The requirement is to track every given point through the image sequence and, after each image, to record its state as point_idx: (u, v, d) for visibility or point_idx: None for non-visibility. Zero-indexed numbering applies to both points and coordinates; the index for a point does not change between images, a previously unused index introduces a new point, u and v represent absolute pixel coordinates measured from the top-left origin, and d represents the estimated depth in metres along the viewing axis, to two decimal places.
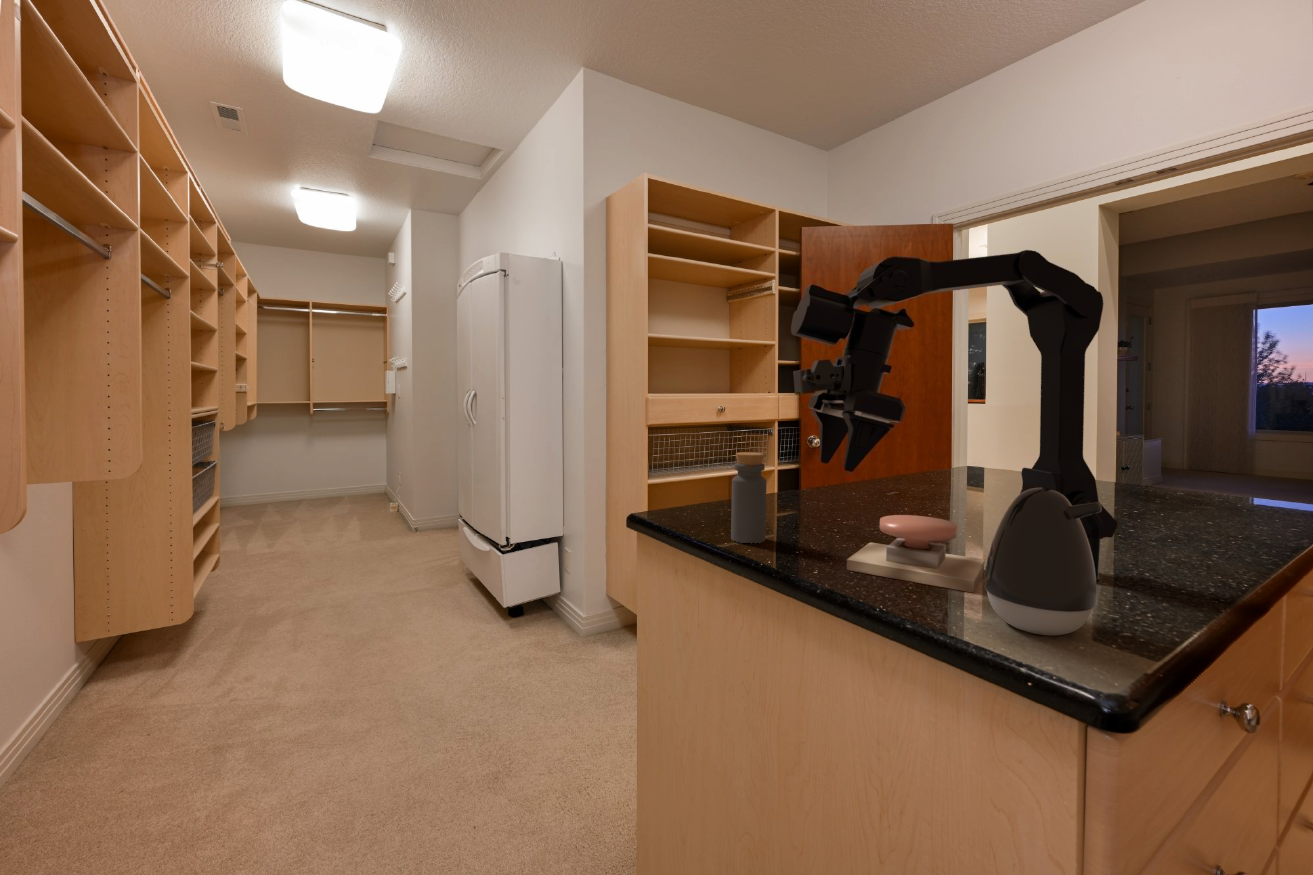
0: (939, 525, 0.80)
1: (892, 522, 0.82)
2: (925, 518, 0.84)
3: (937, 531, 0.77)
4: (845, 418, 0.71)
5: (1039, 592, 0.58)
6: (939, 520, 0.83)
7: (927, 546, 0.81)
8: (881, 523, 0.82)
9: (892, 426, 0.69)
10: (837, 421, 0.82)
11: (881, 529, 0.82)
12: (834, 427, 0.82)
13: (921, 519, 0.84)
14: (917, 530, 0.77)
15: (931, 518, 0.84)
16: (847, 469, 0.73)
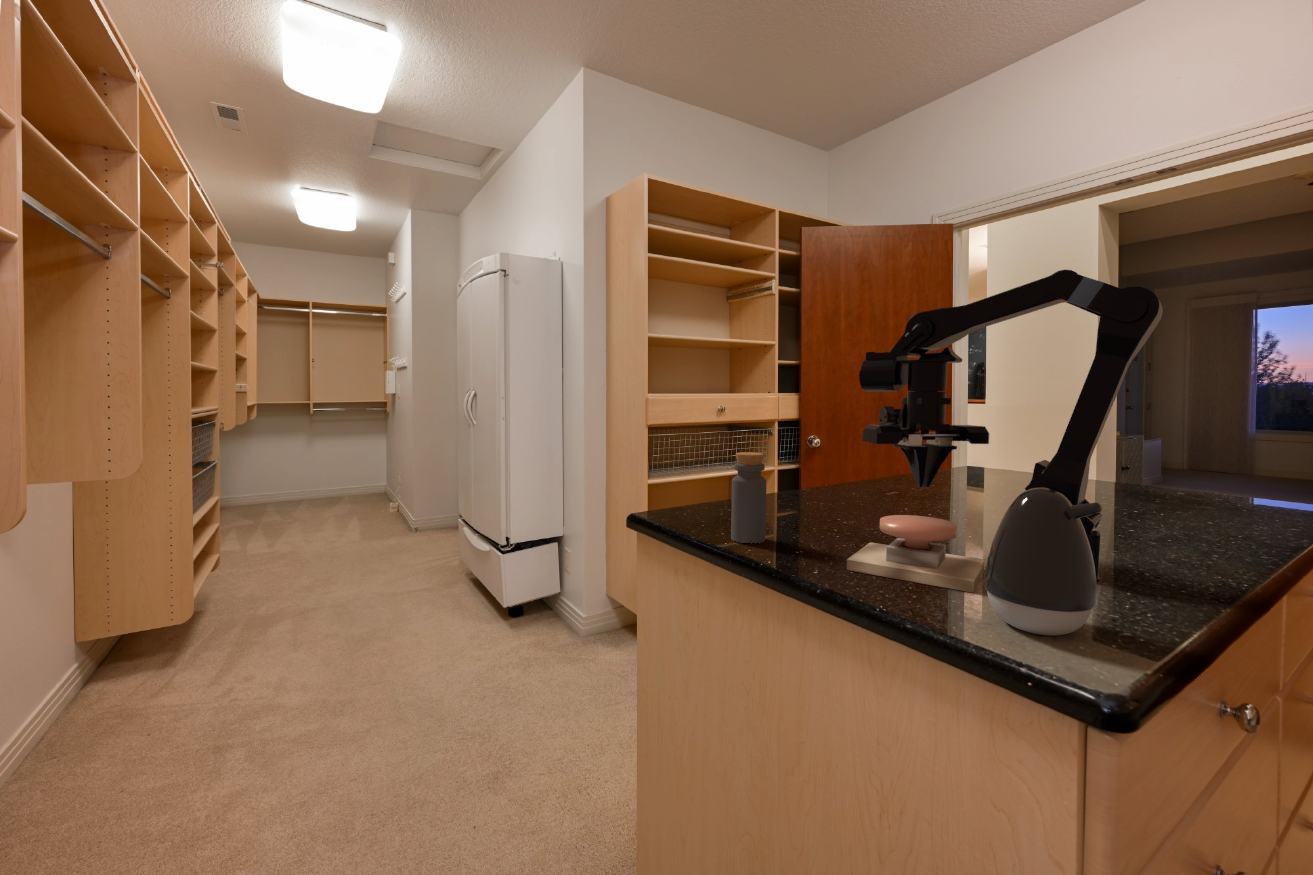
0: (939, 525, 0.80)
1: (892, 522, 0.82)
2: (925, 518, 0.84)
3: (937, 531, 0.77)
4: None
5: (1039, 592, 0.58)
6: (939, 520, 0.83)
7: (927, 546, 0.81)
8: (881, 523, 0.82)
9: (908, 447, 0.91)
10: (931, 449, 0.93)
11: (881, 529, 0.82)
12: (930, 454, 0.94)
13: (921, 519, 0.84)
14: (917, 530, 0.77)
15: (931, 518, 0.84)
16: (917, 485, 0.94)
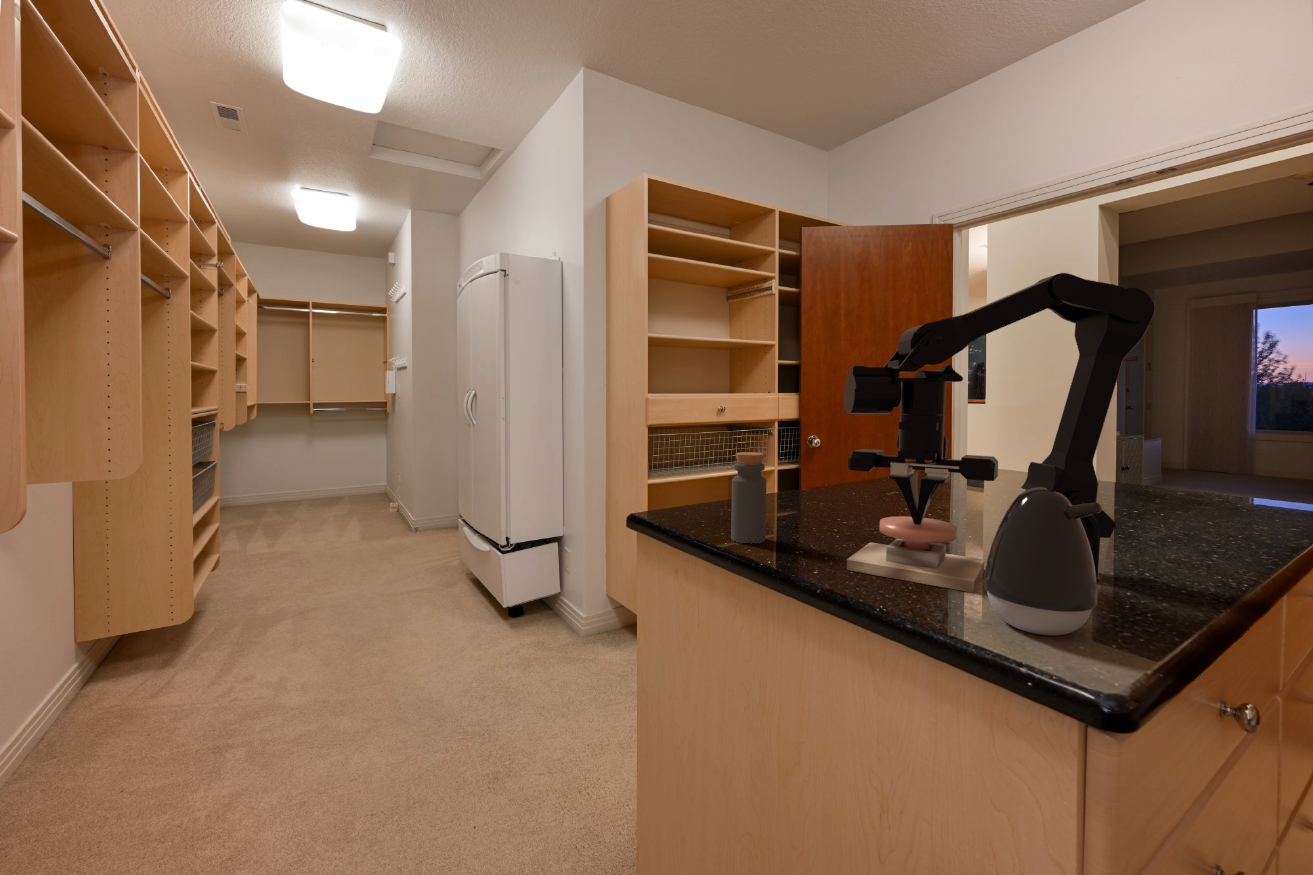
0: (939, 527, 0.80)
1: (892, 523, 0.82)
2: (925, 519, 0.84)
3: (937, 533, 0.77)
4: None
5: (1039, 592, 0.58)
6: (939, 521, 0.83)
7: (927, 548, 0.81)
8: (881, 524, 0.82)
9: None
10: None
11: (881, 530, 0.82)
12: None
13: None
14: (917, 532, 0.77)
15: (931, 519, 0.85)
16: None
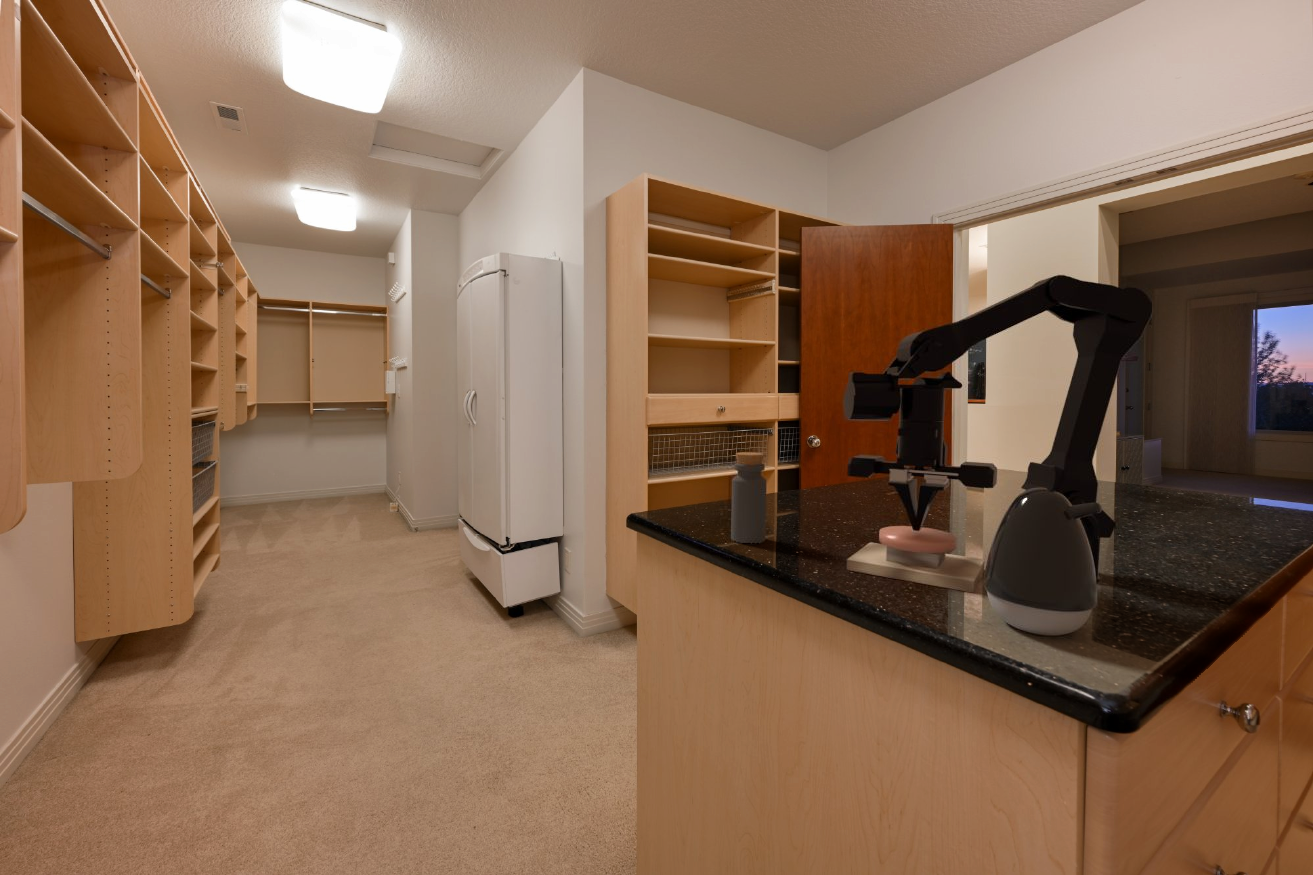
0: (938, 537, 0.80)
1: (892, 534, 0.82)
2: (925, 529, 0.85)
3: (936, 543, 0.77)
4: None
5: (1039, 592, 0.58)
6: (939, 531, 0.83)
7: None
8: (881, 535, 0.82)
9: None
10: None
11: (881, 541, 0.82)
12: None
13: (921, 530, 0.84)
14: (916, 542, 0.77)
15: (931, 529, 0.85)
16: None
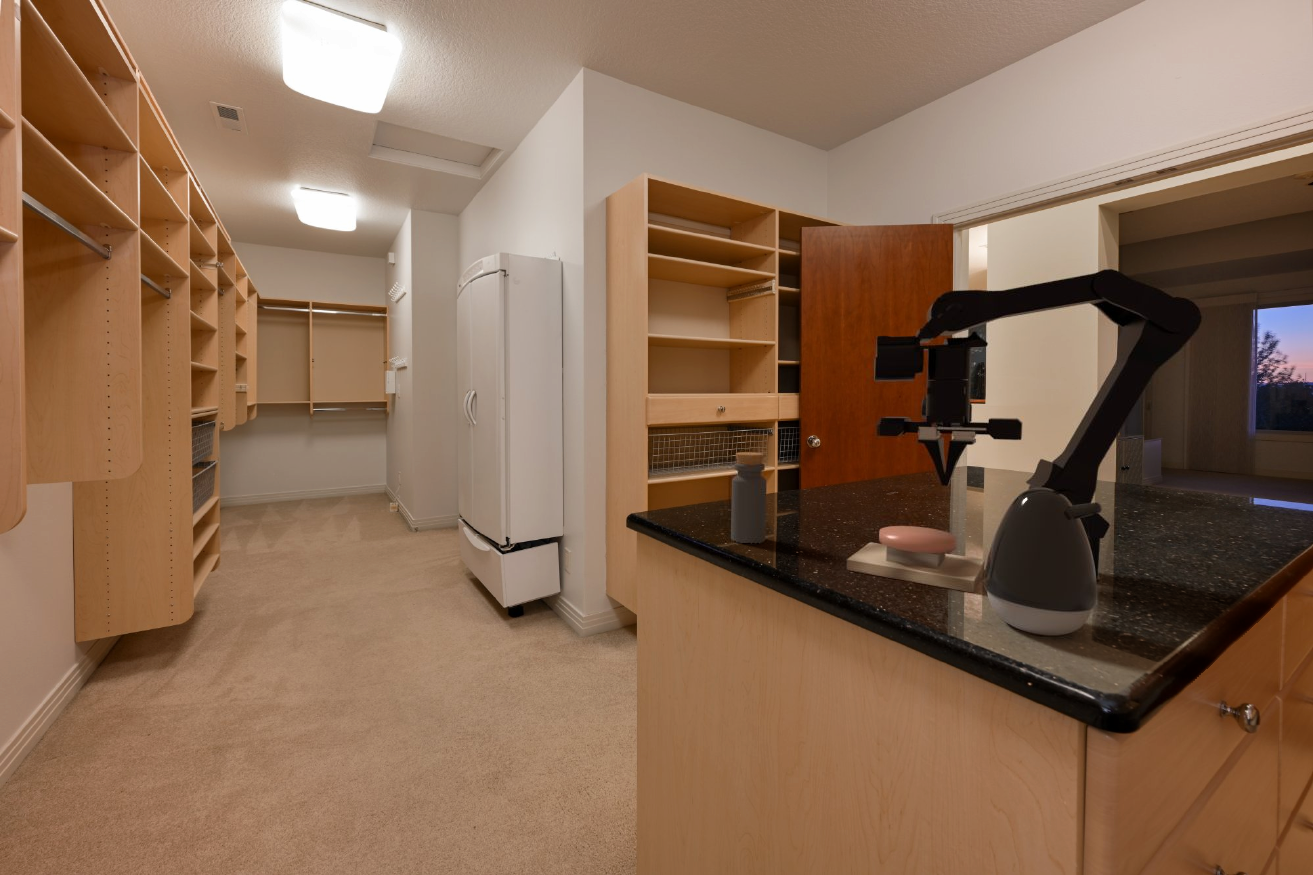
0: (938, 537, 0.80)
1: (892, 534, 0.82)
2: (925, 529, 0.85)
3: (936, 543, 0.77)
4: None
5: (1039, 592, 0.58)
6: (939, 531, 0.83)
7: None
8: (881, 535, 0.82)
9: (917, 441, 0.85)
10: None
11: (881, 541, 0.82)
12: None
13: (921, 530, 0.84)
14: (916, 542, 0.77)
15: (931, 529, 0.85)
16: None
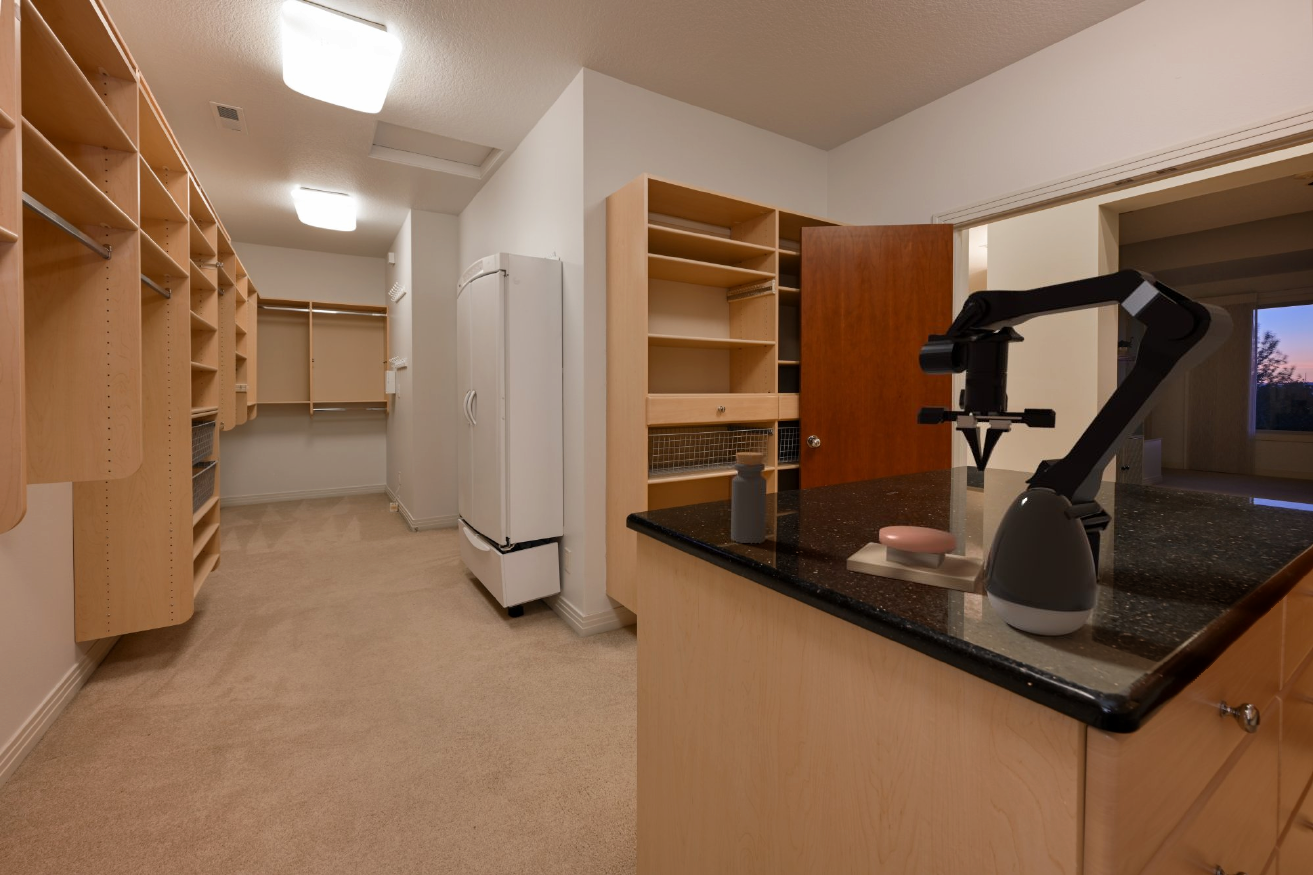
0: (938, 537, 0.80)
1: (892, 534, 0.82)
2: (925, 529, 0.85)
3: (936, 543, 0.77)
4: None
5: (1039, 593, 0.58)
6: (939, 531, 0.83)
7: None
8: (881, 535, 0.82)
9: None
10: None
11: (881, 541, 0.82)
12: None
13: (921, 530, 0.84)
14: (916, 542, 0.77)
15: (931, 529, 0.85)
16: (978, 469, 0.92)
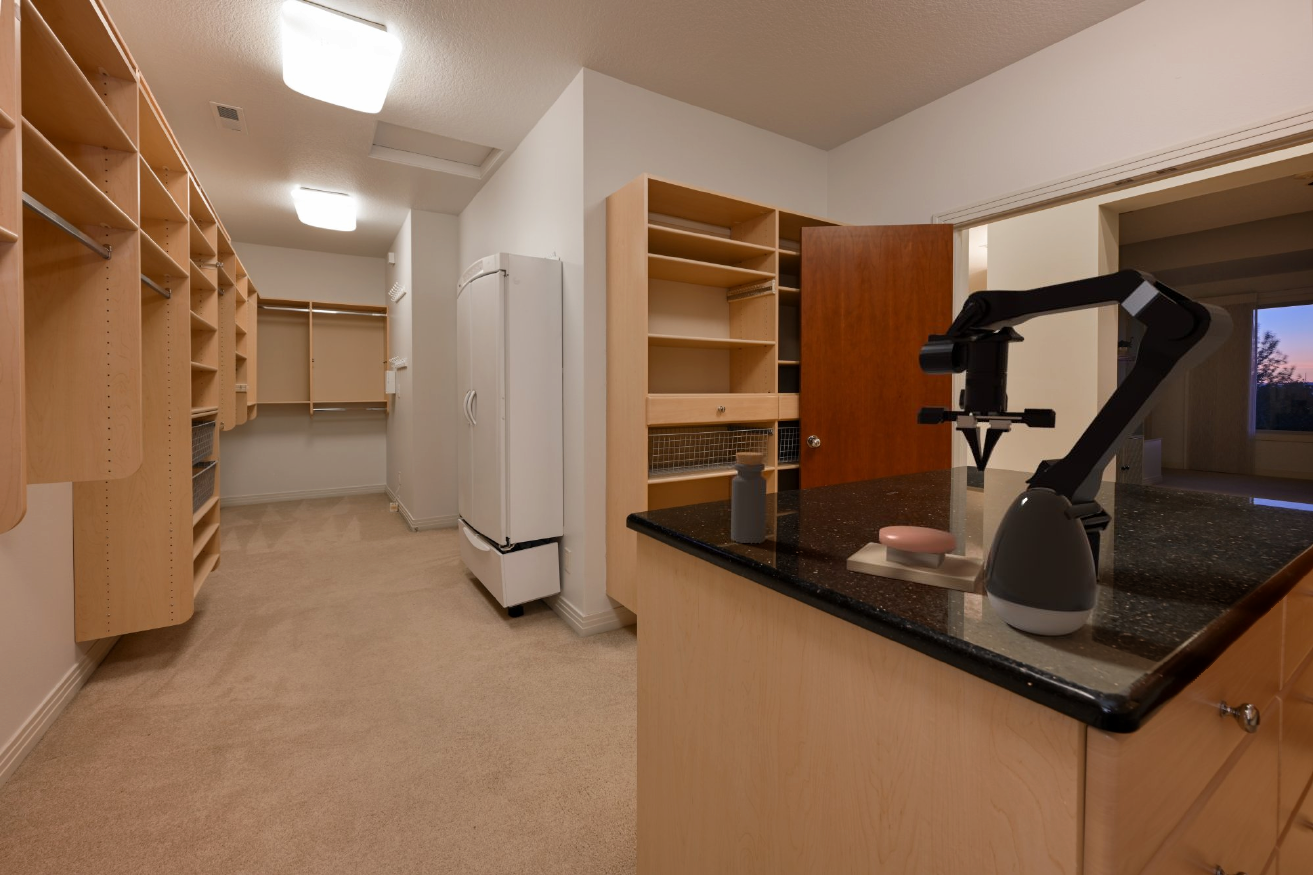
0: (938, 537, 0.80)
1: (892, 534, 0.82)
2: (925, 529, 0.85)
3: (936, 543, 0.77)
4: None
5: (1039, 593, 0.58)
6: (939, 531, 0.83)
7: None
8: (881, 535, 0.82)
9: None
10: None
11: (881, 541, 0.82)
12: None
13: (921, 530, 0.84)
14: (916, 542, 0.77)
15: (931, 529, 0.85)
16: (978, 469, 0.92)
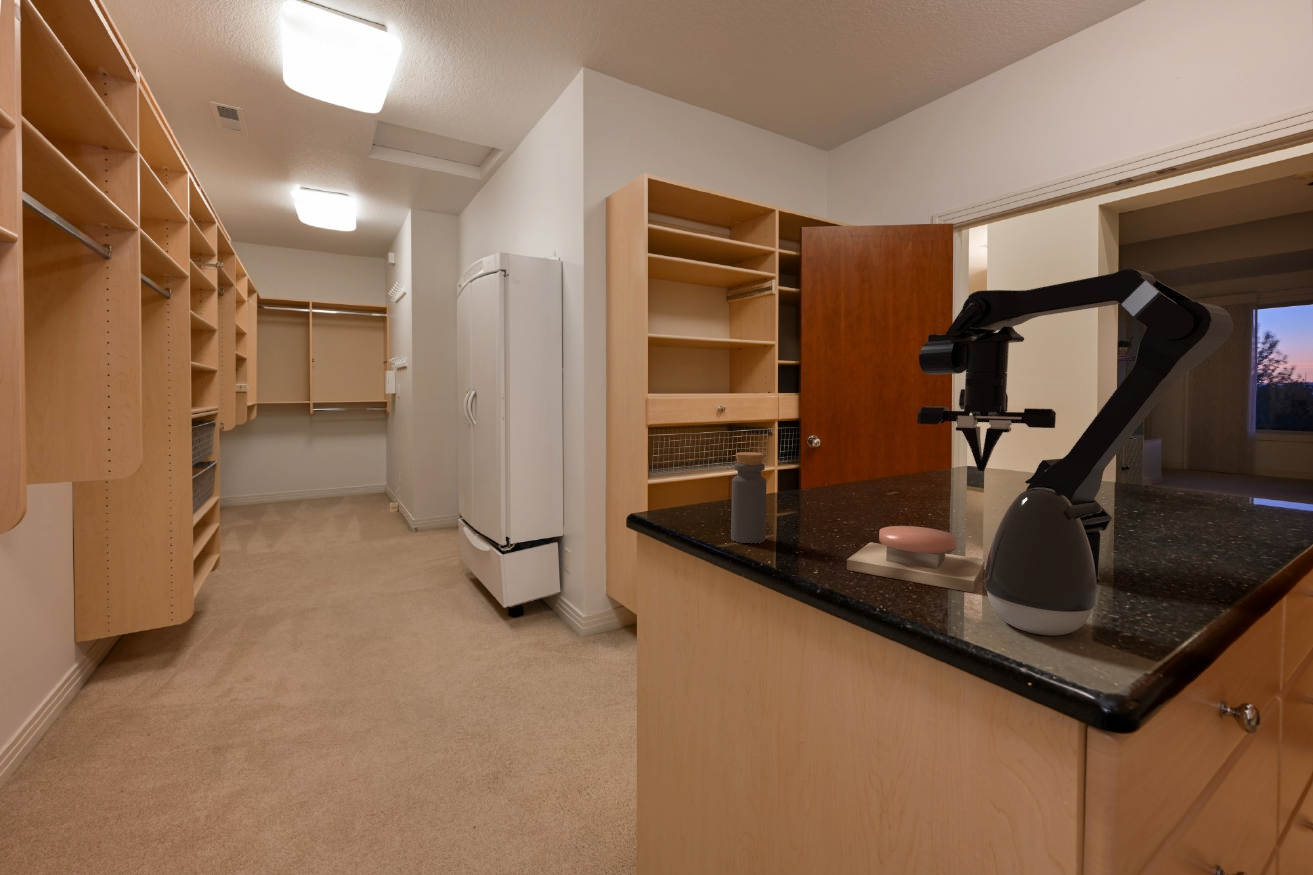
0: (938, 537, 0.80)
1: (892, 534, 0.82)
2: (925, 529, 0.85)
3: (936, 543, 0.77)
4: None
5: (1039, 592, 0.58)
6: (939, 531, 0.83)
7: None
8: (881, 535, 0.82)
9: None
10: None
11: (881, 541, 0.82)
12: None
13: (921, 530, 0.84)
14: (916, 542, 0.77)
15: (931, 529, 0.85)
16: (978, 469, 0.92)
